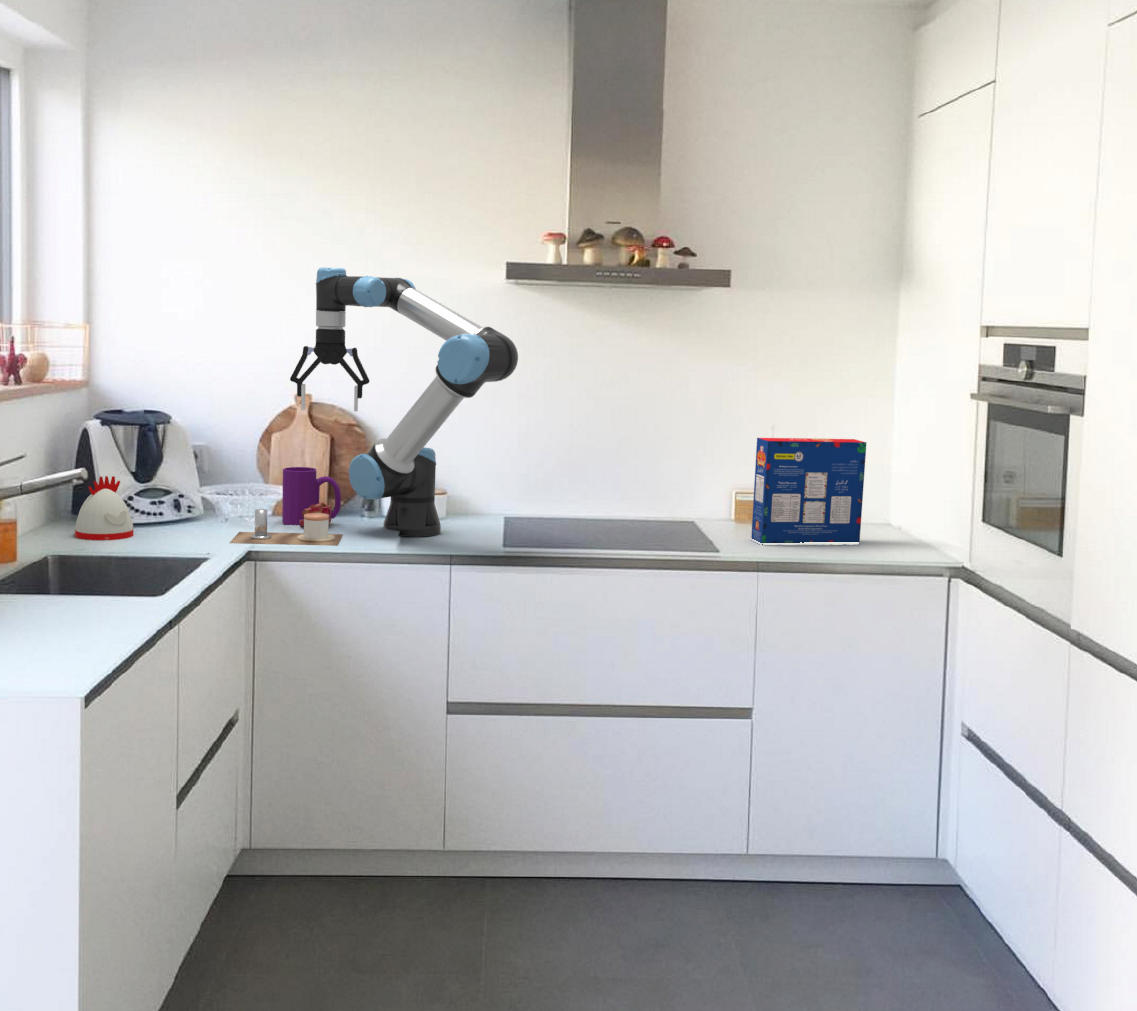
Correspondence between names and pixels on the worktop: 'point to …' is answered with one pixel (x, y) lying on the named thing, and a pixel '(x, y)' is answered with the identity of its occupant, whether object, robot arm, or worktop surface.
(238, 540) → the board
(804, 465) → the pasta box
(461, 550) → the worktop surface
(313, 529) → the cap
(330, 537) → the coaster
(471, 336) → the robot arm
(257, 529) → the post
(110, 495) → the kitchen timer
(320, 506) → the flower
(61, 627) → the worktop surface
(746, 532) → the worktop surface
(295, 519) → the mug
